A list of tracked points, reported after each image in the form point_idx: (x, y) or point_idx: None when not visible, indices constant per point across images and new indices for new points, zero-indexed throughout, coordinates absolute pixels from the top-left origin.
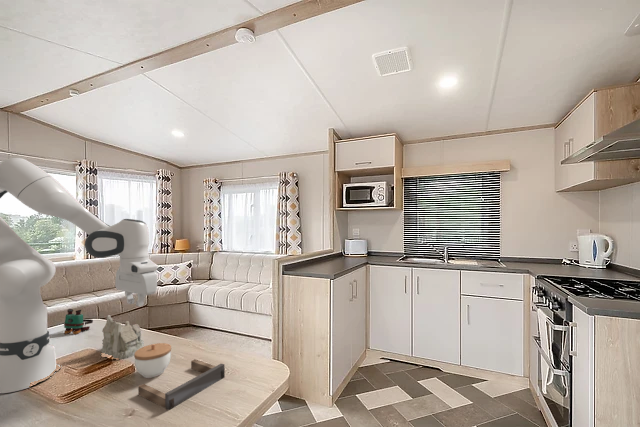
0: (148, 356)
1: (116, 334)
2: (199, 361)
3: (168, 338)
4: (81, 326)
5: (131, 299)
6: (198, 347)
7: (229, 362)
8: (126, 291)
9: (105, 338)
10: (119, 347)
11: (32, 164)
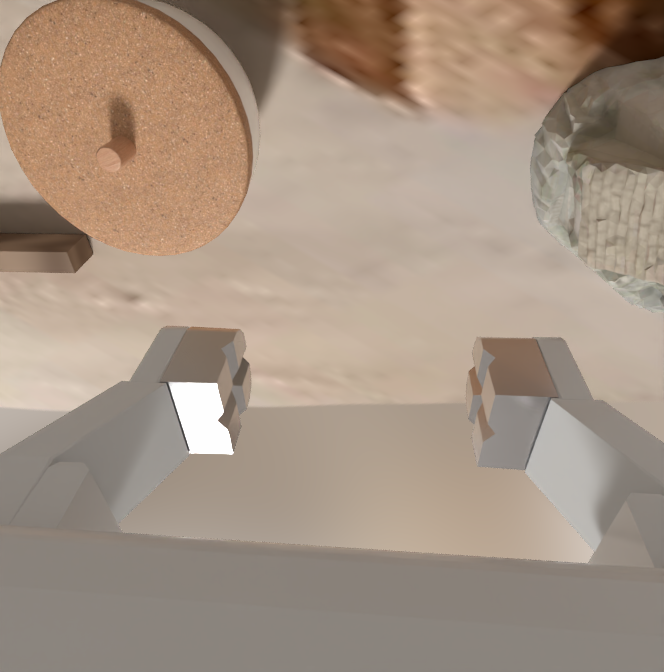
0: (8, 50)
1: None
2: (32, 267)
3: None
4: None
5: (493, 423)
6: (284, 376)
7: (27, 339)
8: (609, 565)
9: None
10: (629, 129)
11: None
